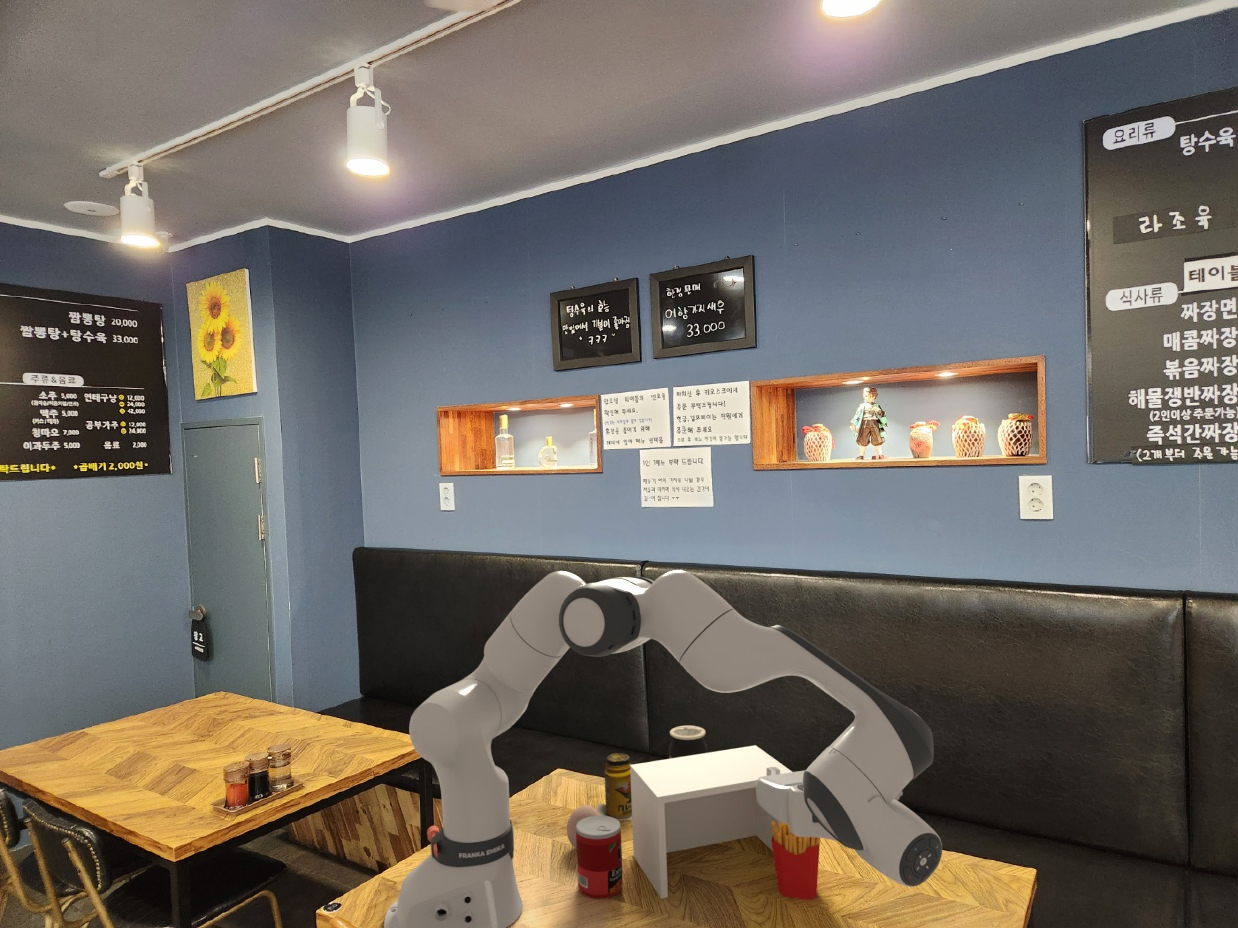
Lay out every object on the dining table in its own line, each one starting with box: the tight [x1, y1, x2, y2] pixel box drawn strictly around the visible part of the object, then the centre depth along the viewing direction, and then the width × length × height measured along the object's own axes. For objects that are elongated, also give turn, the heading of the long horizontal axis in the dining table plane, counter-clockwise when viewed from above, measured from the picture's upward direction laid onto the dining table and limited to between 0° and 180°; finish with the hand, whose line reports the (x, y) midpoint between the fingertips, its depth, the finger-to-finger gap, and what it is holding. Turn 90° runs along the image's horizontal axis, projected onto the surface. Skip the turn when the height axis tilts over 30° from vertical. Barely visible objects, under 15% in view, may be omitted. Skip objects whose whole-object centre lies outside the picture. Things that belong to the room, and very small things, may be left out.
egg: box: [566, 804, 600, 850], centre depth 146 cm, size 7×7×8 cm
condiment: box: [596, 752, 632, 821], centre depth 161 cm, size 7×8×12 cm
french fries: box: [771, 821, 821, 900], centre depth 128 cm, size 8×4×12 cm, turn 73°
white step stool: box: [630, 744, 793, 899], centre depth 139 cm, size 26×15×17 cm, turn 107°
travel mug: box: [668, 725, 709, 759], centre depth 158 cm, size 8×8×18 cm
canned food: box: [576, 816, 624, 900], centre depth 132 cm, size 8×8×11 cm
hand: (797, 767), depth 120 cm, fingers open, 8 cm apart
